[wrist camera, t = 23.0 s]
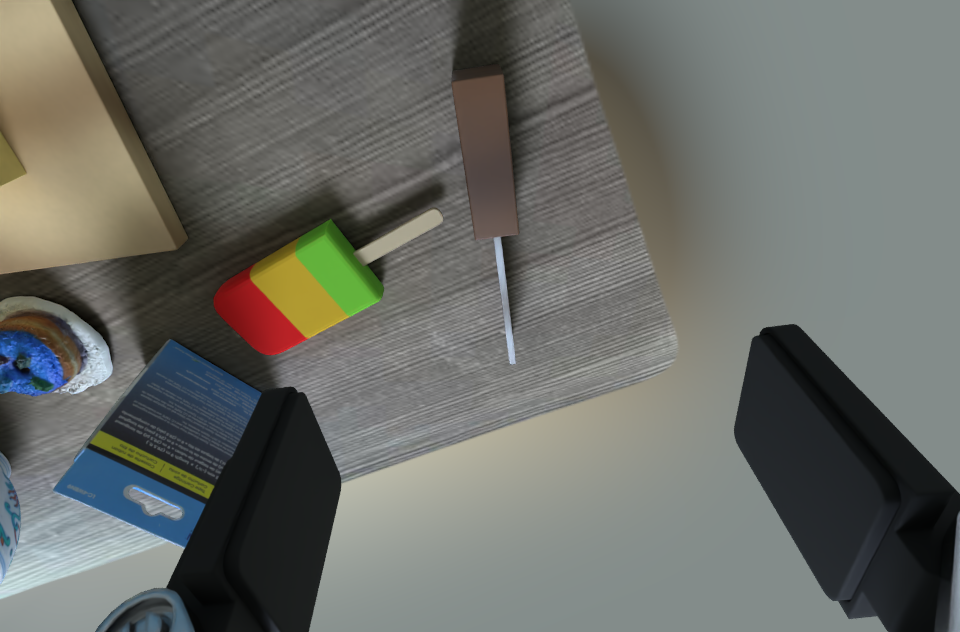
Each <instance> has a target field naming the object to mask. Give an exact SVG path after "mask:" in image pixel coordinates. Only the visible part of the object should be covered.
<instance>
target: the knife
mask: <svg viewBox="0 0 960 632" xmlns="http://www.w3.org/2000/svg"><path fill="white" fill-rule="evenodd" d="M451 83H452V90H453V97H454V103H455V110H456V117H457V123H458V130H459V136H460V143H461V150H462V156H463V163H464V170H465V176H466V183H467V189H468V196H469V203H470V209H471V216H472V223H473V229H474V236H475V240H481V239H489V238H494V245H495V253H496V261H497V269H498V276H499V284H500V292H501V300H502V307H503V315H504V323H505V331H506V338H507V346H508V354H509V361H510V365H512V364H516V358H515V350H514V342H513V333H512V325H511V317H510V308H509V300H508V292H507V283H506V275H505V267H504V258H503V250H502V242H501V237H503V236H511V235H518V234H519V225H518V214H517V204H516V194H515V184H514V173H513V163H512V153H511V143H510V132H509V122H508V112H507V102H506V91H505V81H504V74H503V72H502V70H501V67H500V65H499V64H494V65H487V66H480V67H474V68H467V69H460V70H454V71H452V82H451Z"/></svg>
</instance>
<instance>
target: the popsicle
mask: <svg viewBox="0 0 960 632" xmlns="http://www.w3.org/2000/svg"><path fill="white" fill-rule="evenodd" d="M442 221H443V215H442V213H441V212H440V210H439V209H437V208H431V209H429V210H427V211H425V212H424V213H422V214H420V215H418V216H416V217H415V218H413V219H411V220H409V221H408V222H406V223H404V224H402V225H401V226H399V227H397V228H395V229H393V230H392V231H390V232H388V233H386V234H385V235H383V236H381V237H379V238H377V239H376V240H374V241H372V242H370V243H369V244H367V245H365V246H363V247H362V248H360V249H358V250H355V249H354V248H353V247H352V245H351V244H350V243H349V241H348V240H347V239H346V238H345V236H344V235H343V234H342V233H341V231H340V230H339V229H338V228H337V226H336V225H335V224H334V222H333V221H332V220H331V219H330V220H328V221H326V222H325V223H323V224H321V225H320V226H318V227H316V228H314V229H313V230H311V231H309V232H308V233H306V234H304V235H303V236H301V237H299V238H298V239H296V240H294V241H292V242H291V243H289V244H287V245H286V246H284V247H282V248H281V249H279V250H277V251H276V252H274V253H272V254H271V255H269V256H267V257H265V258H264V259H262V260H260V261H259V262H257V263H255V264H254V265H252V266H250V267H249V268H247V269H245V270H244V271H242V272H240V273H238V274H237V275H235V276H233V277H232V278H230V279H229V280H227V281H226V282H225V283H224V284H223V285H221V287H220V288H219V289H218V291H217V293H216V295H215V296H214V298H213V299H214V308H215V310H216V312H217V313H218V314H219V315H220V316H221V317H222V319H223V320H225V321H226V322H227V323H228V324H229V325H230V326H231V327H232V328H233V329H234V330H235V331H236V332H237V333H238V334H239V335H240V336H241V337H242V338H243V339H244V340H245V341H246V342H248V343H249V344H250V345H251V346H252V347H253V348H254V349H256V350H257V351H259V352H261V353H263V354H266V355H276V354H279V353H281V352H284V351H286V350H288V349H289V348H291V347H293V346H295V345H297V344H299V343H301V342H303V341H305V340H307V339H308V338H310V337H312V336H314V335H316V334H318V333H320V332H322V331H324V330H326V329H327V328H329V327H331V326H333V325H335V324H337V323H339V322H341V321H343V320H345V319H346V318H348V317H350V316H352V315H354V314H356V313H358V312H360V311H362V310H363V309H365V308H367V307H369V306H371V305H373V304H375V303H377V302H378V301H380V300H381V298H382V296H383V291H384V287H383V285H382V283H381V282H380V281H379V280H378V278H377V277H376V276H375V274H374V273H373V272H372V271H371V269H370V268H369V267H368V266H367V264H369V263H370V262H372V261H374V260H376V259H378V258H379V257H381V256H383V255H385V254H387V253H388V252H390V251H392V250H394V249H396V248H398V247H399V246H401V245H403V244H405V243H407V242H408V241H410V240H412V239H414V238H416V237H417V236H419V235H421V234H423V233H425V232H426V231H428V230H430V229H432V228H434V227H435V226H437V225H439V224H440V223H442Z"/></svg>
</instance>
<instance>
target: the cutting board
mask: <svg viewBox="0 0 960 632" xmlns="http://www.w3.org/2000/svg"><path fill="white" fill-rule="evenodd" d="M0 132H1V133H2V135H3V136H4V138H5V140H6V141H7V143H8V144H9V146H10V148H11V149H12V151H13V152H14V154H15V155H16V157H17V159H18V160H19V162H20V163H21V165H22V166H23V168H24V170H25V171H26V173H27V174H26V175H24V176H22V177H20V178H18V179H16V180H13V181H11V182H9V183H7V184H5V185H3V186H1V187H0V274H5V273H13V272H20V271H27V270H34V269H42V268H49V267H56V266H63V265H70V264H78V263H85V262H92V261H99V260H107V259H114V258H121V257H128V256H136V255H143V254H150V253H157V252H165V251H172V250H177V249H179V248H180V247H181V246H182V245H183V244H184V243H185V242H186V241H187V240H188V236H187V234H186V232H185V230H184V228H183V226H182V224H181V222H180V220H179V218H178V216H177V214H176V212H175V210H174V208H173V206H172V204H171V202H170V200H169V198H168V196H167V194H166V192H165V190H164V188H163V186H162V184H161V181H160V179H159V177H158V175H157V173H156V171H155V169H154V167H153V165H152V163H151V161H150V159H149V157H148V155H147V153H146V151H145V149H144V147H143V145H142V143H141V141H140V139H139V137H138V135H137V133H136V131H135V129H134V126H133V124H132V122H131V120H130V118H129V116H128V114H127V112H126V110H125V108H124V106H123V104H122V102H121V100H120V98H119V96H118V94H117V92H116V90H115V88H114V86H113V84H112V82H111V80H110V78H109V76H108V74H107V72H106V69H105V67H104V65H103V63H102V61H101V59H100V57H99V55H98V53H97V51H96V49H95V47H94V45H93V43H92V41H91V39H90V37H89V35H88V33H87V31H86V29H85V27H84V25H83V23H82V21H81V19H80V17H79V15H78V12H77V10H76V8H75V6H74V4H73V2H72V0H0Z"/></svg>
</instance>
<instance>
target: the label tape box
mask: <svg viewBox="0 0 960 632" xmlns="http://www.w3.org/2000/svg"><path fill="white" fill-rule="evenodd" d="M261 394H262V393H261V392H259V391H258V390H256V389H254V388H252V387H251V386H249V385H247V384H245V383H244V382H242V381H240V380H239V379H237V378H235V377H234V376H232V375H230V374H228V373H227V372H225V371H223V370H222V369H220V368H218V367H217V366H215V365H213V364H212V363H210V362H208V361H207V360H205V359H203V358H202V357H200V356H198V355H196V354H195V353H193V352H191V351H190V350H188V349H186V348H185V347H183V346H181V345H180V344H178V343H177V342H175V341H173V340H172V339H169V340H168V341H167V342H166V343H165V344H164V345H163V346H162V347H161V349H160V350H159V351H158V352H157V353H156V355H155V356H154V357H153V358H152V359H151V360H150V362H149V363H148V364H147V365H146V366H145V368H144V369H143V370H142V371H141V372H140V374H139V375H138V376H137V377H136V378H135V380H134V381H133V382H132V383H131V385H130V386H129V387H128V388H127V389H126V391H125V392H124V393H123V394H122V396H121V397H120V398H119V399H118V401H117V402H116V403H115V404H114V406H113V407H112V408H111V410H110V411H109V412H108V414H107V415H106V416H105V417H104V419H103V420H102V421H101V423H100V424H99V425H98V427H97V428H96V429H95V431H94V432H93V433H92V435H91V436H90V437H89V439H88V440H87V441H86V443H85V444H84V445H83V447H82V448H81V449H80V451H79V452H78V453H77V455H76V456H75V458H74V464H73V465H72V466H71V467H70V468H69V469H68V470H67V472H66V473H65V474H64V476H63V477H62V478H61V479H60V481H59V482H58V483H57V485H56V486H55V487H54V489H53V492H55V493H57V494H60V495H62V496H65V497H68V498H70V499H73V500H76V501H78V502H80V503H82V504H85V505H87V506H89V507H92V508H94V509H96V510H99V511H101V512H103V513H106V514H108V515H110V516H112V517H114V518H116V519H118V520H121V521H123V522H125V523H127V524H130V525H132V526H134V527H136V528H138V529H141V530H143V531H145V532H147V533H149V534H152V535H154V536H156V537H158V538H161V539H163V540H165V541H168V542H170V543H172V544H175V545H177V546H180V547H182V548H184V549H185V547H186V545H187V543H188V541H189V539H190V536H191V534H192V532H193V530H194V528H195V526H196V524H197V522H198V520H199V517H200V515H201V513H202V511H203V509H204V507H205V505H206V503H207V501H208V499H209V496H210V494H211V492H212V490H213V488H214V486H215V484H216V482H217V480H218V477H219V475H220V473H221V471H222V469H223V467H224V465H225V464H226V462H227V461H228V460H229V459H230V458H232V456H233V454H234V452H235V449H236V447H237V445H238V443H239V441H240V439H241V437H242V434H243V432H244V430H245V428H246V426H247V424H248V422H249V420H250V417H251V415H252V413H253V411H254V409H255V407H256V405H257V402H258V400H259V398H260V396H261ZM132 488H134V489H136V490H138V491H140V492H143V493H145V494H147V495H149V496H151V497H154V498H156V499H158V500H160V501H162V502H165V503H167V504H169V505H171V506H174V507H176V508H178V509H180V510H182V516H181V517H180V518H178V519H175V518H172V517H170V516H167V515H165V514H163V513H161V512H160V513H158V514H155V515H151V514H149V513H148V512H147V511H146V508H145V505H144V504H142V503H140V502H138V501H136V500H134V499H132V498H131V497H130V495H129V494H128V493H129V490H130V489H132Z"/></svg>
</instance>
